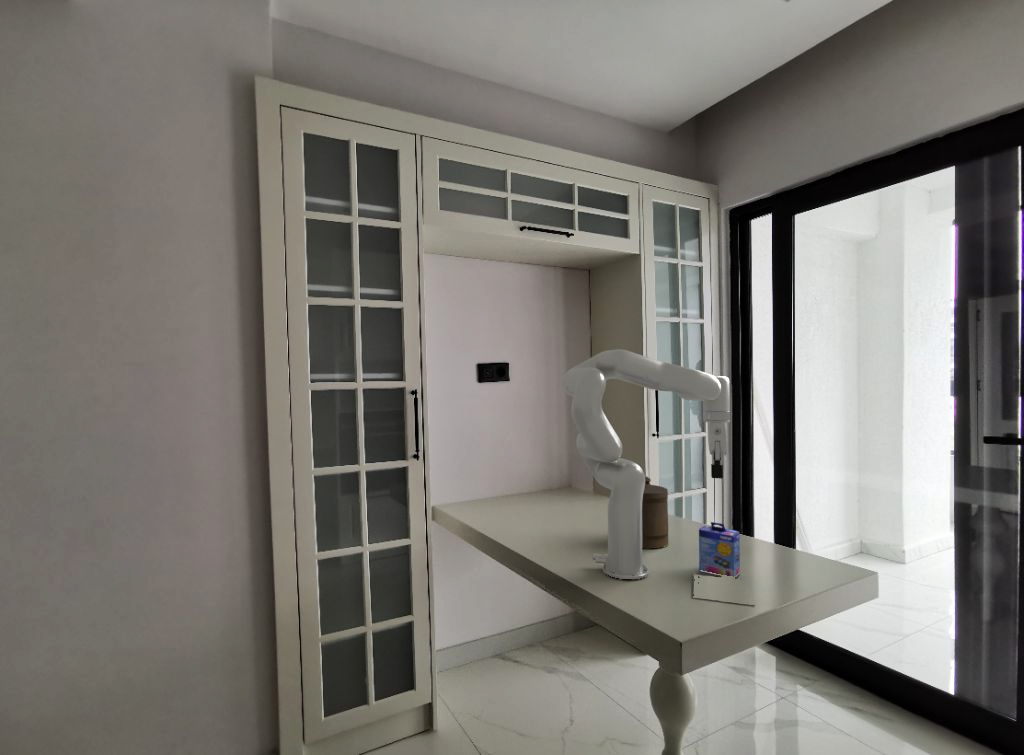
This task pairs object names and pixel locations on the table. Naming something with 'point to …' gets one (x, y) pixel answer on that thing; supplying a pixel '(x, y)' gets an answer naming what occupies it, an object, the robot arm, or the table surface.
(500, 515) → the table surface
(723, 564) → the ink cartridge box
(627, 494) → the robot arm
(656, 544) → the wooden container
